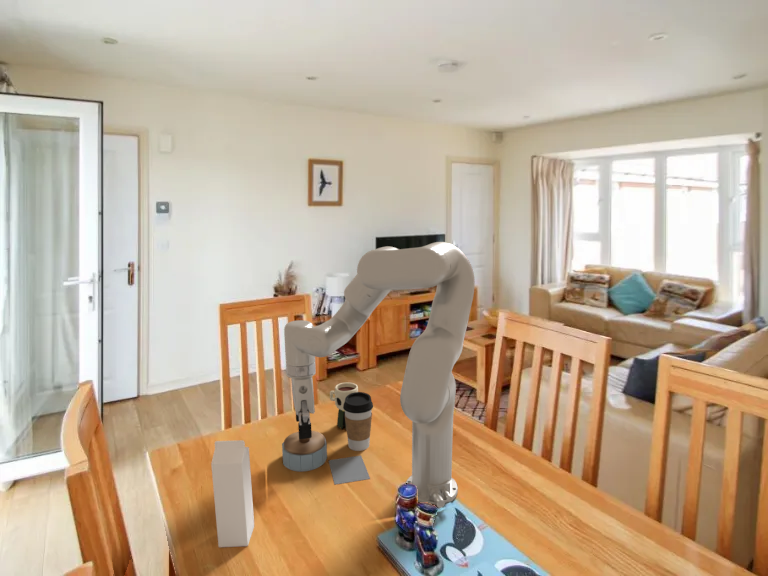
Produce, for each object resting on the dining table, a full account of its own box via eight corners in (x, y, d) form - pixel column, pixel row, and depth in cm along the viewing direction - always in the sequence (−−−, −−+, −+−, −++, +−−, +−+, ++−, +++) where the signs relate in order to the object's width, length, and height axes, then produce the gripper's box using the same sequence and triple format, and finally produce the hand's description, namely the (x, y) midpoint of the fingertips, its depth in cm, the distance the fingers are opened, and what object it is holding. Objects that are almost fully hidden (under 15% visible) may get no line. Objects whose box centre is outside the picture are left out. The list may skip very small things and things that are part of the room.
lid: (285, 457, 118) (284, 435, 117) (283, 436, 128) (282, 416, 127) (327, 451, 121) (326, 430, 119) (322, 431, 131) (321, 411, 130)
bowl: (329, 469, 121) (328, 451, 120) (284, 476, 118) (283, 458, 117) (323, 446, 132) (323, 430, 131) (282, 452, 129) (281, 436, 128)
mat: (370, 480, 116) (370, 478, 116) (334, 486, 114) (334, 484, 114) (361, 457, 127) (361, 455, 127) (328, 462, 124) (328, 460, 124)
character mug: (326, 429, 142) (325, 389, 140) (334, 418, 149) (333, 380, 146) (360, 433, 139) (359, 393, 137) (367, 422, 146) (366, 383, 144)
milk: (226, 527, 100) (218, 433, 96) (255, 526, 101) (248, 432, 96) (218, 548, 94) (209, 449, 90) (248, 546, 95) (240, 447, 90)
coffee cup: (375, 439, 136) (374, 392, 133) (371, 455, 127) (371, 404, 125) (347, 438, 137) (345, 390, 134) (341, 454, 128) (340, 403, 125)
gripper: (319, 379, 113) (321, 443, 116) (311, 356, 129) (314, 413, 133) (288, 382, 111) (291, 447, 114) (284, 358, 127) (287, 416, 131)
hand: (303, 429), depth 124 cm, fingers open, 9 cm apart
